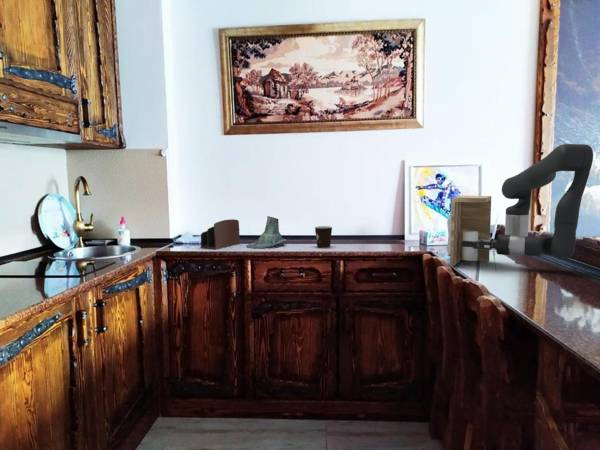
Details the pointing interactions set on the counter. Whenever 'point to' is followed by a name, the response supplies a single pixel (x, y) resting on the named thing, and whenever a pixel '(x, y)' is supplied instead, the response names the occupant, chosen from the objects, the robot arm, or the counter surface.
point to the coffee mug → (323, 236)
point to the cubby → (469, 224)
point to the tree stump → (269, 236)
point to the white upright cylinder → (469, 252)
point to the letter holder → (221, 235)
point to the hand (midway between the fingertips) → (463, 242)
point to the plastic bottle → (449, 235)
